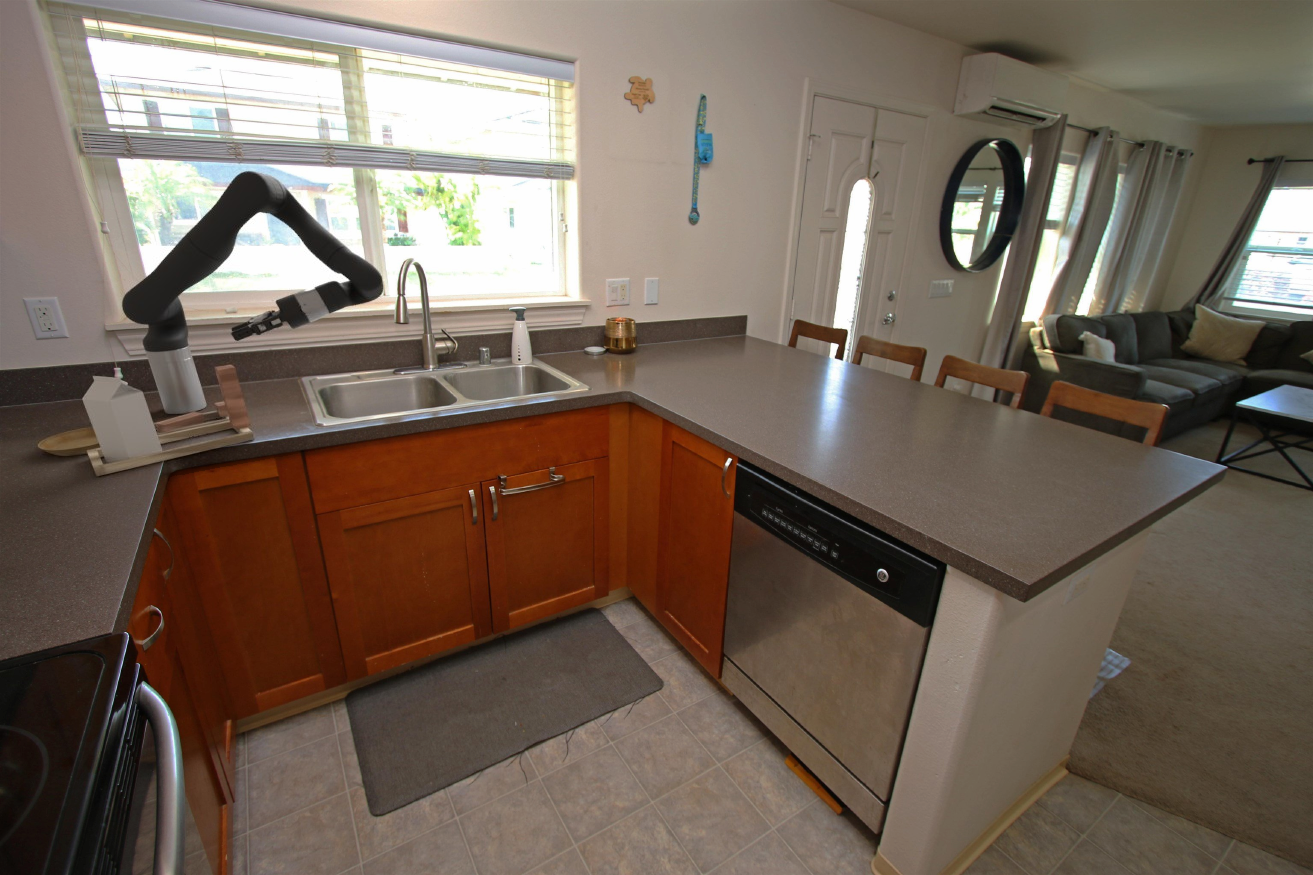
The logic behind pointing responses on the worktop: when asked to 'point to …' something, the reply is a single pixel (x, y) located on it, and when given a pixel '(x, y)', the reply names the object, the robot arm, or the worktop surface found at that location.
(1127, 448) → the worktop surface
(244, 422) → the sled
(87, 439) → the plant saucer
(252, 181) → the robot arm
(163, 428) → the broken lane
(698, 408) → the worktop surface
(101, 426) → the milk carton
